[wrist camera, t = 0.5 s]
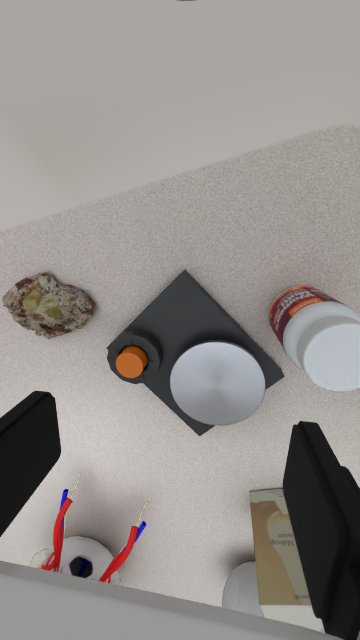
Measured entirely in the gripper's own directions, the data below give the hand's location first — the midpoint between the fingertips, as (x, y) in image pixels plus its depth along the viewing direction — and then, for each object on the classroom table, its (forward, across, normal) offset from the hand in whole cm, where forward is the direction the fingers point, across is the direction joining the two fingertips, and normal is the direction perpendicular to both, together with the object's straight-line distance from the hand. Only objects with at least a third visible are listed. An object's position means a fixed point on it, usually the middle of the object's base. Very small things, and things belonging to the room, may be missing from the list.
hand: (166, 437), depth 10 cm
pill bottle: (+21, -10, 0) cm, 23 cm away
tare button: (+18, +7, +5) cm, 20 cm away
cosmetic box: (+22, -11, +27) cm, 36 cm away
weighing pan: (+17, -2, +7) cm, 19 cm away
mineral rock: (+21, +18, +1) cm, 28 cm away
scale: (+21, +1, +6) cm, 22 cm away
